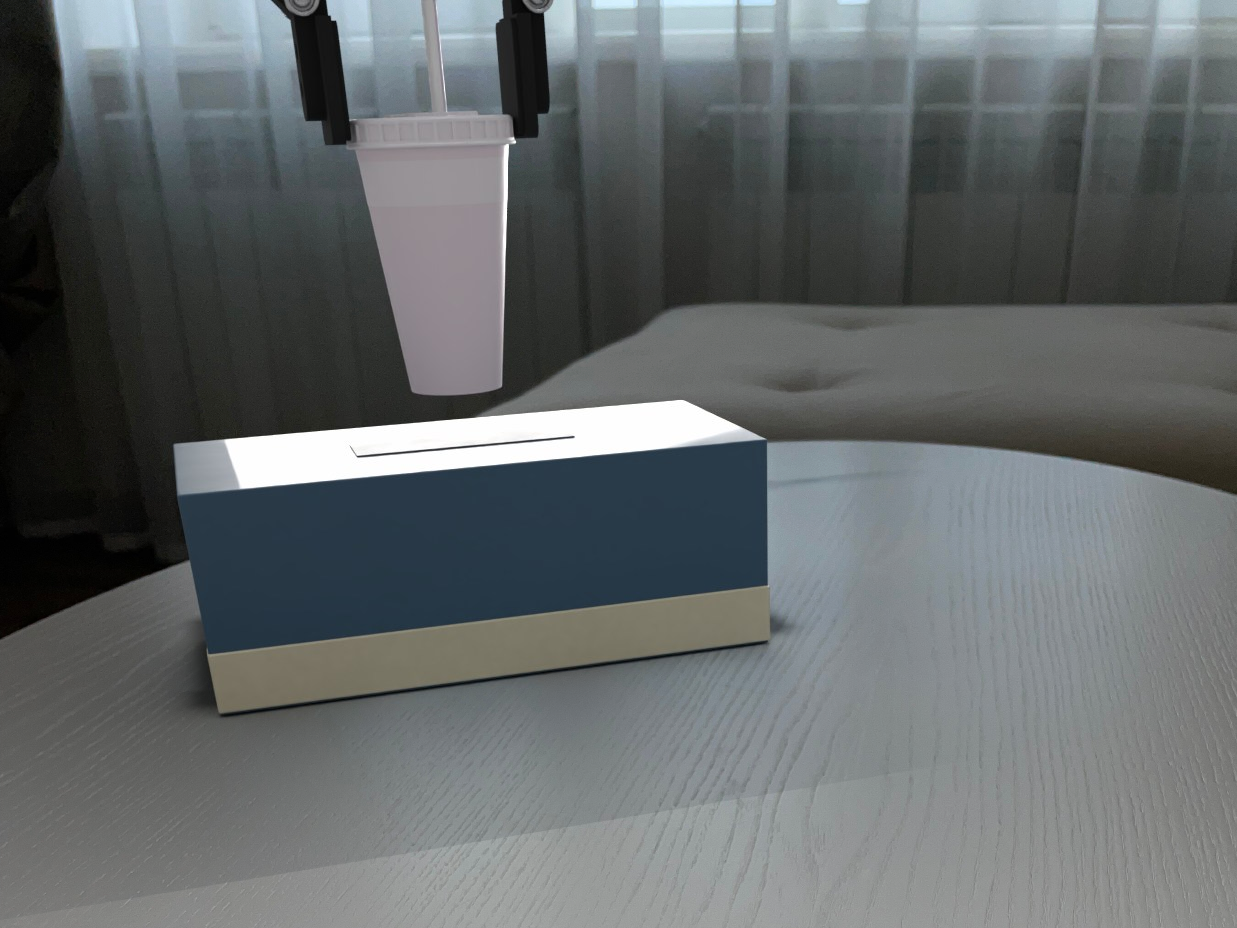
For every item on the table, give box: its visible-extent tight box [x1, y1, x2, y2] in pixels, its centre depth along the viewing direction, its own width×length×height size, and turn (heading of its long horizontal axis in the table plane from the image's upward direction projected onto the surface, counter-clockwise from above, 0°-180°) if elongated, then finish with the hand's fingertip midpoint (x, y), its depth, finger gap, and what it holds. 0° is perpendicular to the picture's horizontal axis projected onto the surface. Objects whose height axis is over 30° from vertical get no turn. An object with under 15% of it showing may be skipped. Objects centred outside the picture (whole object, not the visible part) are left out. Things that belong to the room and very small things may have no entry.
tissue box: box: [172, 399, 771, 716], centre depth 62 cm, size 23×11×8 cm, turn 108°
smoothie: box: [345, 0, 517, 396], centre depth 56 cm, size 6×6×14 cm
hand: (430, 136), depth 55 cm, fingers closed on smoothie, 6 cm apart
